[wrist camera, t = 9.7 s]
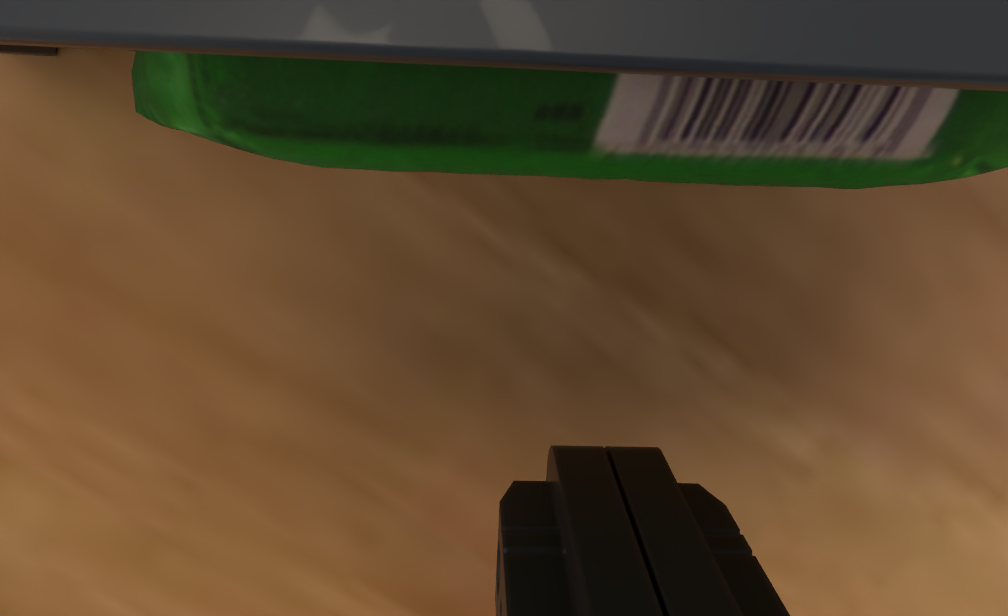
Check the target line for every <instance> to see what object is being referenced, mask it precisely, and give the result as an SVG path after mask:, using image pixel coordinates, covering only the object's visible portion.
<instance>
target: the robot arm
mask: <svg viewBox="0 0 1008 616" xmlns="http://www.w3.org/2000/svg"><path fill="white" fill-rule="evenodd" d="M495 602H496V616H790V615H789V613H788V611H787V610H786V608H785V606H784V605H783V603H782V601H781V599H780V598H779V596H778V594H777V593H776V591H775V589H774V587H773V586H772V584H771V582H770V581H769V579H768V577H767V575H766V574H765V572H764V570H763V569H762V567H761V565H760V563H759V562H758V560H757V558H756V557H755V556H752V550H751V548H750V546H749V545H748V543H747V541H746V539H745V538H744V536H743V535H740V529H739V527H738V526H737V524H736V522H735V521H734V519H733V517H732V515H731V514H730V512H729V510H728V509H727V507H726V505H725V504H724V503H722V502H721V501H720V500H718V499H717V498H716V497H715V496H713V495H712V494H711V493H709V492H708V491H707V490H706V489H704V488H703V487H702V486H700V485H699V484H691V483H677V481H676V479H675V477H674V475H673V473H672V471H671V469H670V467H669V465H668V463H667V461H666V459H665V457H664V455H663V453H662V451H661V450H660V449H659V448H657V447H611V446H606V447H605V448H604V447H602V446H550V449H549V454H548V463H547V477H546V481H513V483H512V484H511V486H510V487H509V489H508V490H507V492H506V493H505V495H504V496H503V498H502V499H501V501H500V508H499V529H498V550H497V571H496V592H495Z"/></svg>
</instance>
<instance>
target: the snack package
mask: <svg viewBox="0 0 1008 616" xmlns="http://www.w3.org/2000/svg"><path fill="white" fill-rule="evenodd" d="M132 80H133V90H134V99H135V107H136V112H137V113H139V114H141V115H142V116H144V117H146V118H147V119H149V120H152V121H154V122H156V123H157V124H159V125H162V126H165V127H169V128H172V129H177V130H182V131H186V132H189V133H191V134H194V135H197V136H200V137H203V138H206V139H209V140H211V141H214V142H217V143H220V144H224V145H227V146H231V147H234V148H237V149H240V150H244V151H247V152H251V153H254V154H258V155H262V156H265V157H269V158H274V159H279V160H284V161H289V162H295V163H300V164H305V165H311V166H318V167H327V168H345V169H364V170H380V171H402V172H447V173H461V174H498V175H528V176H556V177H572V178H584V179H629V180H639V181H650V182H670V183H705V184H720V185H736V186H742V185H754V186H789V187H825V188H840V189H862V188H872V187H882V186H894V185H910V184H924V183H931V182H938V181H945V180H952V179H959V178H965V177H970V176H974V175H978V174H982V173H986V172H990V171H994V170H998V169H1002V168H1005V167H1008V92H1007V91H986V90H965V89H943V88H922V87H900V86H879V85H857V84H836V83H815V82H793V81H772V80H750V79H729V78H707V77H686V76H664V75H643V74H622V73H600V72H579V71H557V70H536V69H514V68H493V67H472V66H450V65H429V64H407V63H386V62H364V61H343V60H322V59H300V58H279V57H257V56H236V55H214V54H193V53H171V52H150V51H136V54H135V59H134V64H133V69H132Z"/></svg>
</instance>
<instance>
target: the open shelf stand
mask: <svg viewBox="0 0 1008 616" xmlns="http://www.w3.org/2000/svg"><path fill="white" fill-rule="evenodd" d="M56 47H64V48H86V49H107V50H129V51H150V52H171V53H193V54H214V55H236V56H257V57H279V58H300V59H322V60H343V61H364V62H386V63H407V64H429V65H450V66H472V67H493V68H514V69H536V70H557V71H579V72H600V73H622V74H643V75H664V76H686V77H707V78H729V79H750V80H772V81H793V82H815V83H836V84H857V85H879V86H900V87H922V88H943V89H965V90H986V91H1007V92H1008V0H0V54H17V55H39V56H55V55H56Z"/></svg>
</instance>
